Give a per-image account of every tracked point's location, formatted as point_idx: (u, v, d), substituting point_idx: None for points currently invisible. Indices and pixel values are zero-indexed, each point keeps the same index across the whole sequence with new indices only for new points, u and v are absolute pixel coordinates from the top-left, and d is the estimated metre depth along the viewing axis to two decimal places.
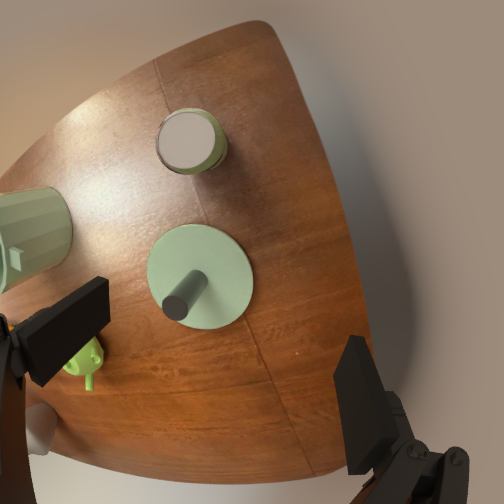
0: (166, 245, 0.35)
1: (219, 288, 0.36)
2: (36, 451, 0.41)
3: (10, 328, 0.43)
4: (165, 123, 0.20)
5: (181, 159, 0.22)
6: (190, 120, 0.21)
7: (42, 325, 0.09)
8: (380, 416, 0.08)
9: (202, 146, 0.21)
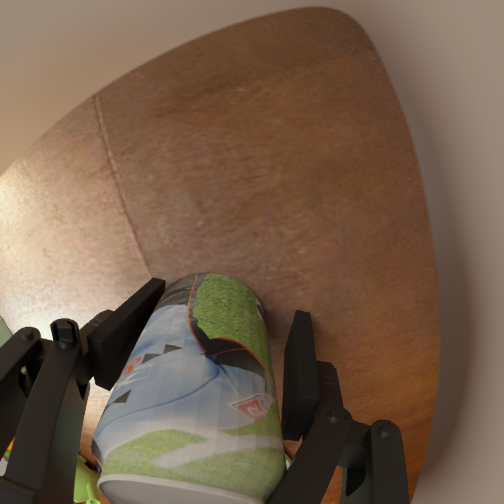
0: None
1: None
2: None
3: None
4: (107, 483, 0.04)
5: None
6: (186, 494, 0.04)
7: (115, 328, 0.10)
8: (304, 379, 0.09)
9: None
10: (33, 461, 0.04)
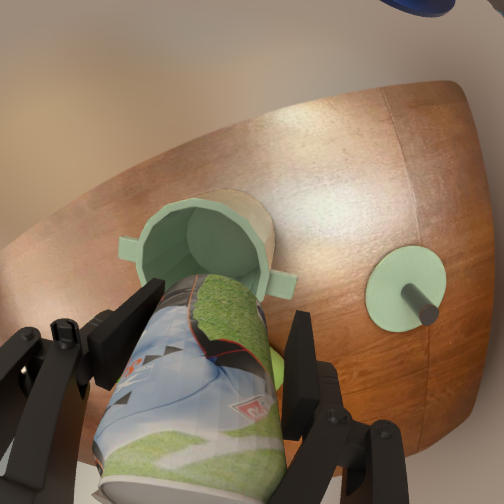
0: (392, 262, 0.37)
1: None
2: None
3: None
4: (108, 484, 0.04)
5: None
6: (187, 495, 0.04)
7: (115, 328, 0.10)
8: (304, 379, 0.09)
9: None
10: (33, 461, 0.04)
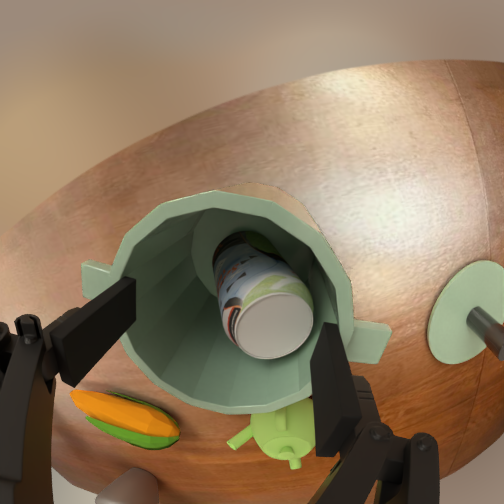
0: (462, 283, 0.25)
1: None
2: None
3: (114, 401, 0.33)
4: (247, 311, 0.16)
5: (269, 349, 0.17)
6: (282, 304, 0.16)
7: (77, 325, 0.09)
8: (343, 397, 0.09)
9: (296, 333, 0.17)
10: (10, 453, 0.03)
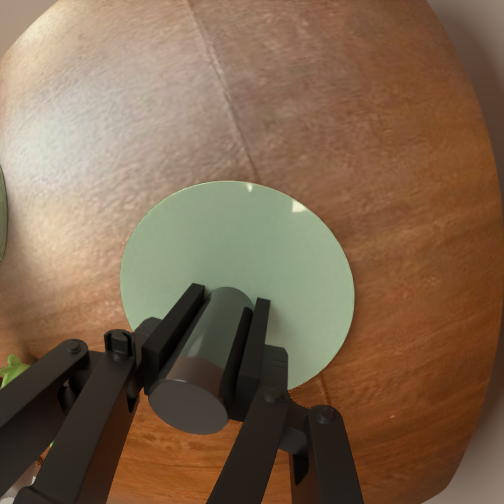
0: (160, 231, 0.15)
1: (279, 326, 0.16)
2: (13, 496, 0.21)
3: None
4: None
5: None
6: None
7: (169, 336, 0.10)
8: (247, 359, 0.10)
9: None
10: (67, 476, 0.04)
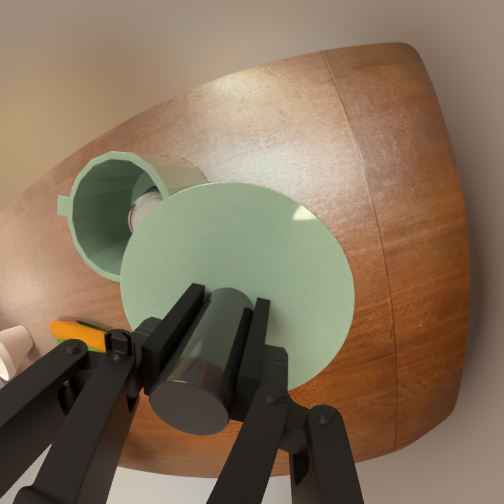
0: (161, 231, 0.15)
1: (279, 326, 0.16)
2: None
3: (80, 326, 0.45)
4: (137, 208, 0.27)
5: None
6: None
7: (169, 336, 0.10)
8: (247, 359, 0.10)
9: None
10: (67, 476, 0.04)
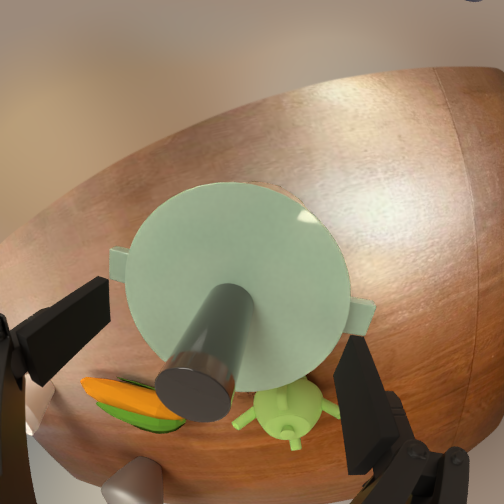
0: (165, 230, 0.16)
1: (278, 321, 0.17)
2: None
3: (124, 387, 0.37)
4: None
5: None
6: None
7: (42, 325, 0.09)
8: (380, 416, 0.08)
9: None
10: None
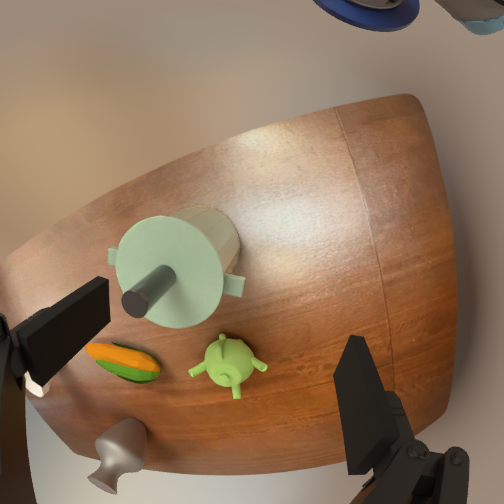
0: (134, 238, 0.32)
1: (188, 284, 0.33)
2: (132, 469, 0.50)
3: (117, 348, 0.53)
4: None
5: None
6: None
7: (42, 325, 0.09)
8: (380, 416, 0.08)
9: None
10: None
